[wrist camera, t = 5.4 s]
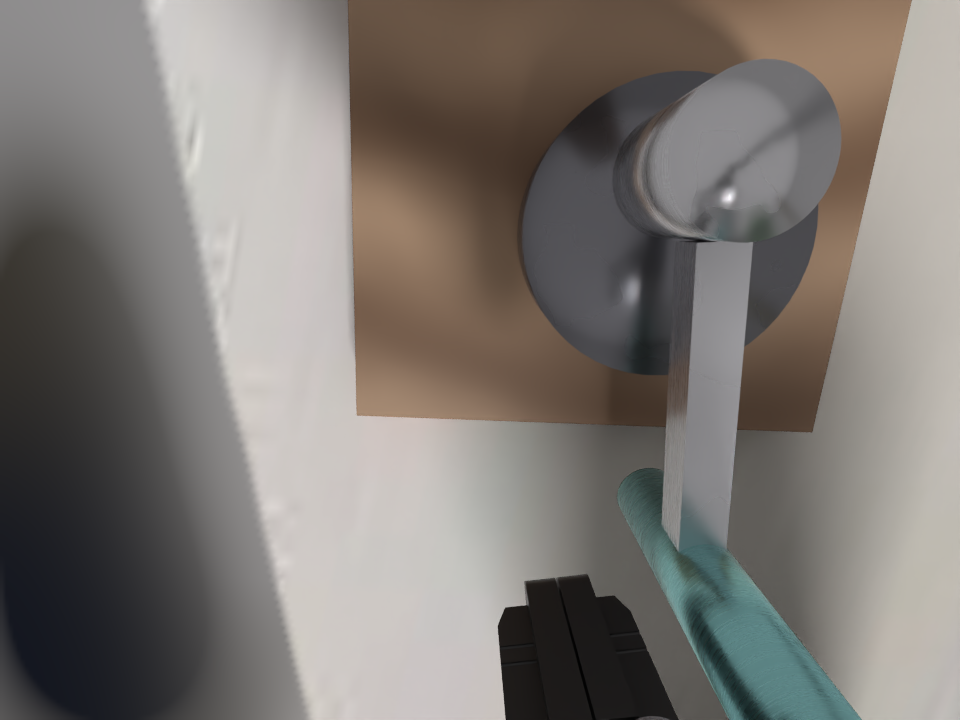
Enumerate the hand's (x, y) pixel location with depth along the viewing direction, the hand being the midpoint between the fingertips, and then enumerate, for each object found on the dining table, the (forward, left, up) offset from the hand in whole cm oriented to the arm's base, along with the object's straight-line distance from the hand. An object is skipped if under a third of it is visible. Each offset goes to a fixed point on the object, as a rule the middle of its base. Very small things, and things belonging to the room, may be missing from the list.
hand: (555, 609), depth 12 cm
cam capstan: (-6, +3, -6) cm, 9 cm away
